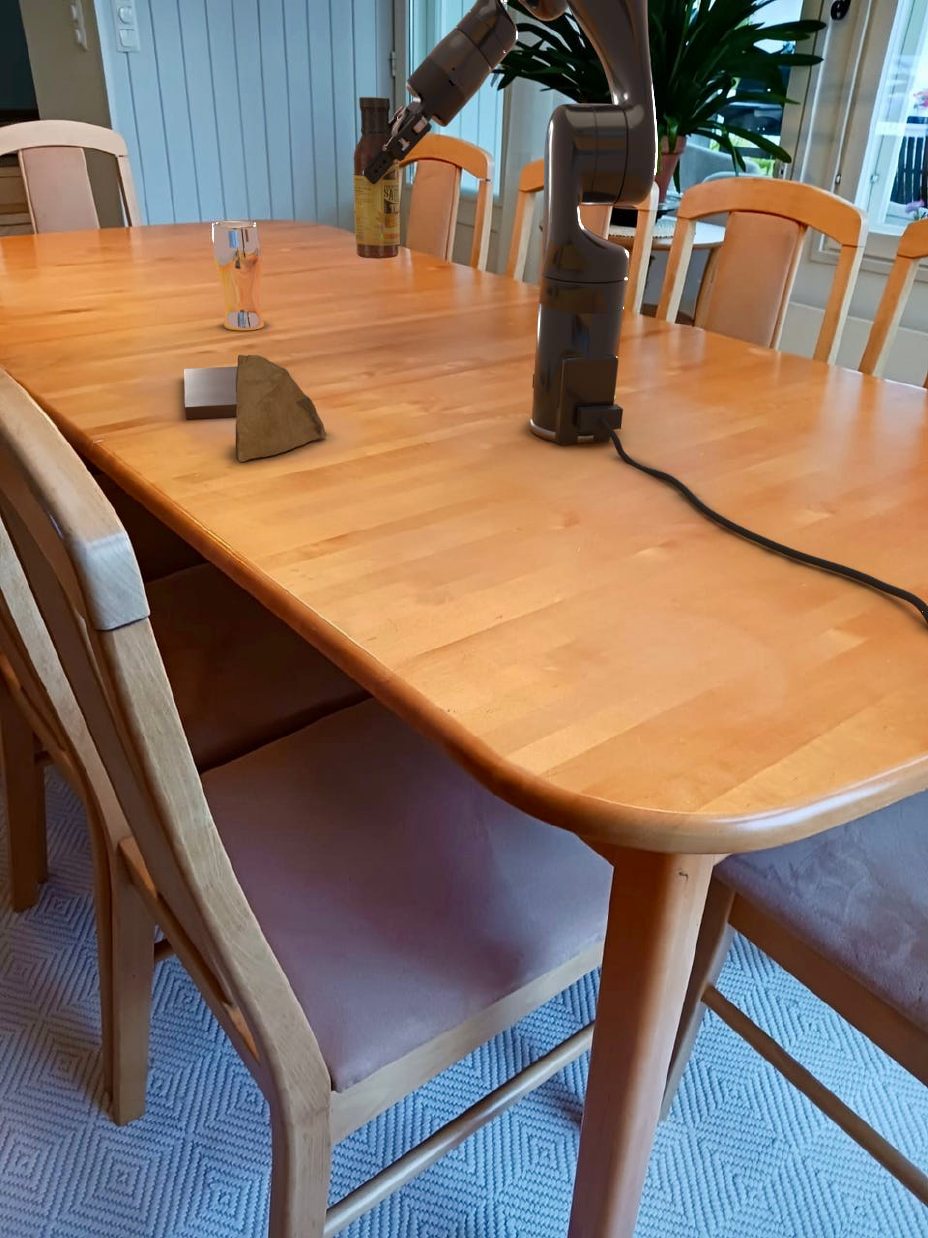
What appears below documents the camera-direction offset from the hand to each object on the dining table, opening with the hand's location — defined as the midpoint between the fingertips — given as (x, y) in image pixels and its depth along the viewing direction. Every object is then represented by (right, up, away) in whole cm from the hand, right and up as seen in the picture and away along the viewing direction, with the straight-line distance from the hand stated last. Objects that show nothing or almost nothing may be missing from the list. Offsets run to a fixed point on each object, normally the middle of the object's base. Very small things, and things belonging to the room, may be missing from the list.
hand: (363, 176), depth 128 cm
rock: (-6, -42, -26) cm, 50 cm away
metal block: (-15, -33, -11) cm, 37 cm away
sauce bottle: (+1, -9, +6) cm, 11 cm away
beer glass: (-21, -14, +20) cm, 32 cm away
